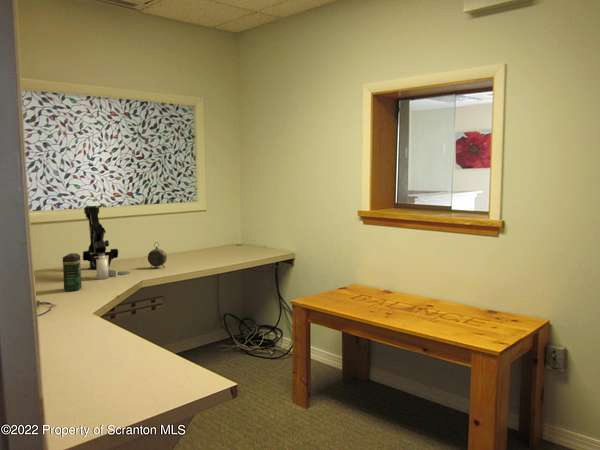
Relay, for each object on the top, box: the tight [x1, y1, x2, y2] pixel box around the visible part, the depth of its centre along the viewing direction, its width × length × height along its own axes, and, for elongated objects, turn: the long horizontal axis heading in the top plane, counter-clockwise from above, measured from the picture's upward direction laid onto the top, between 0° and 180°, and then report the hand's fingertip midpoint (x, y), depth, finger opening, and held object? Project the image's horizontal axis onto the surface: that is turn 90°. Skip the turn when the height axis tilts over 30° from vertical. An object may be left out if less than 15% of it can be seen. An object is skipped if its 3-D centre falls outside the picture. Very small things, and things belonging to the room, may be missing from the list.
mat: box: [118, 270, 131, 276], centre depth 304 cm, size 9×9×1 cm
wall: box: [108, 268, 119, 278], centre depth 298 cm, size 11×1×4 cm, turn 62°
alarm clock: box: [147, 242, 168, 269], centre depth 320 cm, size 11×5×16 cm, turn 84°
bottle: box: [96, 254, 109, 280], centre depth 290 cm, size 6×6×14 cm
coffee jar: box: [62, 252, 83, 292], centre depth 263 cm, size 10×8×19 cm
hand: (102, 266), depth 289 cm, fingers open, 7 cm apart
